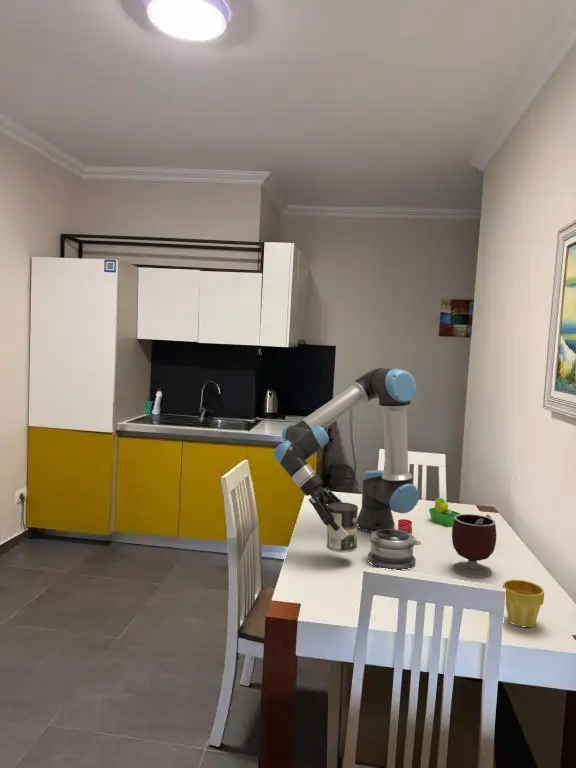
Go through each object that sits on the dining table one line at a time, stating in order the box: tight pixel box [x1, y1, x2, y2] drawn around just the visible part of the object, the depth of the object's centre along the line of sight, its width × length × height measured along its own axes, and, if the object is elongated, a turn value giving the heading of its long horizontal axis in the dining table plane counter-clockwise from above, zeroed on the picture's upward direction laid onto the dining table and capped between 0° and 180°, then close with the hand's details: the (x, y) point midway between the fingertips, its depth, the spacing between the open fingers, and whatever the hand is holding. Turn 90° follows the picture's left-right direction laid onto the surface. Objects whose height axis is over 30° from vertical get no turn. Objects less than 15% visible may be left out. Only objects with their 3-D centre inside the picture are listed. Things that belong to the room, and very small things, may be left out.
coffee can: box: [326, 501, 359, 554], centre depth 197 cm, size 10×10×14 cm
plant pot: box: [502, 579, 545, 628], centre depth 157 cm, size 10×10×10 cm
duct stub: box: [367, 528, 417, 571], centre depth 199 cm, size 16×16×9 cm
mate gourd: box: [451, 513, 497, 579], centre depth 192 cm, size 16×14×20 cm
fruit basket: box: [428, 497, 461, 527], centre depth 246 cm, size 11×9×11 cm
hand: (350, 532), depth 196 cm, fingers closed on coffee can, 10 cm apart
